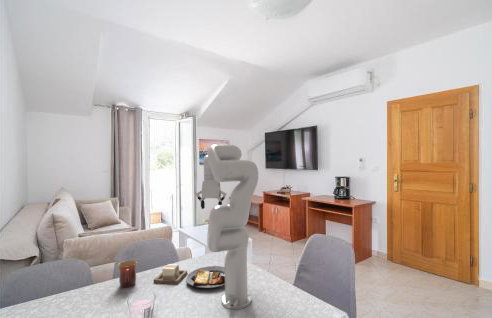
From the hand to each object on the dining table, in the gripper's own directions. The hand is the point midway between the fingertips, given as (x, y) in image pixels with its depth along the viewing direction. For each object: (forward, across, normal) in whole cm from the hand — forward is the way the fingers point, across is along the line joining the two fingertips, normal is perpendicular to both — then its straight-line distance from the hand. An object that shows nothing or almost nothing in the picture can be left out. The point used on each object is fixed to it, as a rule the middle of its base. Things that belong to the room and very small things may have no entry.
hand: (211, 208), depth 142 cm
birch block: (+33, +18, +13) cm, 40 cm away
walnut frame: (+33, +18, +13) cm, 40 cm away
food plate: (+34, -3, +12) cm, 36 cm away
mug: (+34, +35, +24) cm, 54 cm away
